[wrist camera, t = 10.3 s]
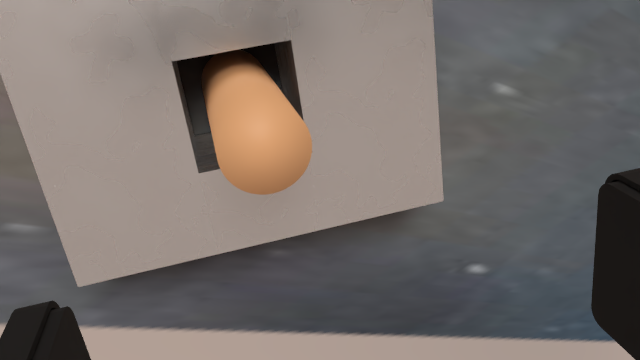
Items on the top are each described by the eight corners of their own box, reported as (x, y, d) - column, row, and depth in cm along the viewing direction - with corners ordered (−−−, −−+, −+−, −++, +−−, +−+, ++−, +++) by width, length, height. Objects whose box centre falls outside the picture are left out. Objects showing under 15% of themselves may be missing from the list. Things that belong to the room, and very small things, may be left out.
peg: (259, 43, 27) (304, 94, 18) (270, 106, 28) (318, 183, 19) (194, 55, 26) (207, 114, 17) (208, 118, 27) (227, 203, 18)
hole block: (382, -84, 26) (427, -90, 21) (403, 163, 31) (443, 201, 26) (6, -27, 23) (-34, -21, 19) (93, 232, 28) (78, 287, 24)
